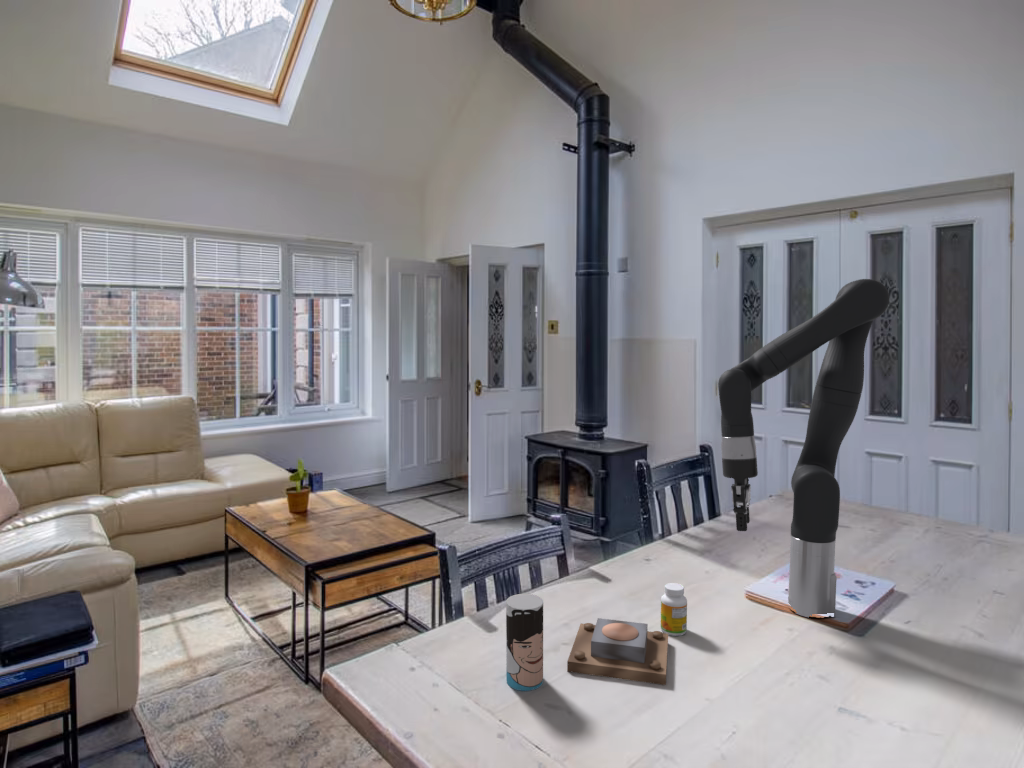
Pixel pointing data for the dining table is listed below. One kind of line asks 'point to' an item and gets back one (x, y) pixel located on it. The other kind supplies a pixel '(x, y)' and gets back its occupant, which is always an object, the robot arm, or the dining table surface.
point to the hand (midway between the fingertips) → (743, 526)
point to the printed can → (524, 642)
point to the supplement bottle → (674, 610)
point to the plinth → (620, 666)
